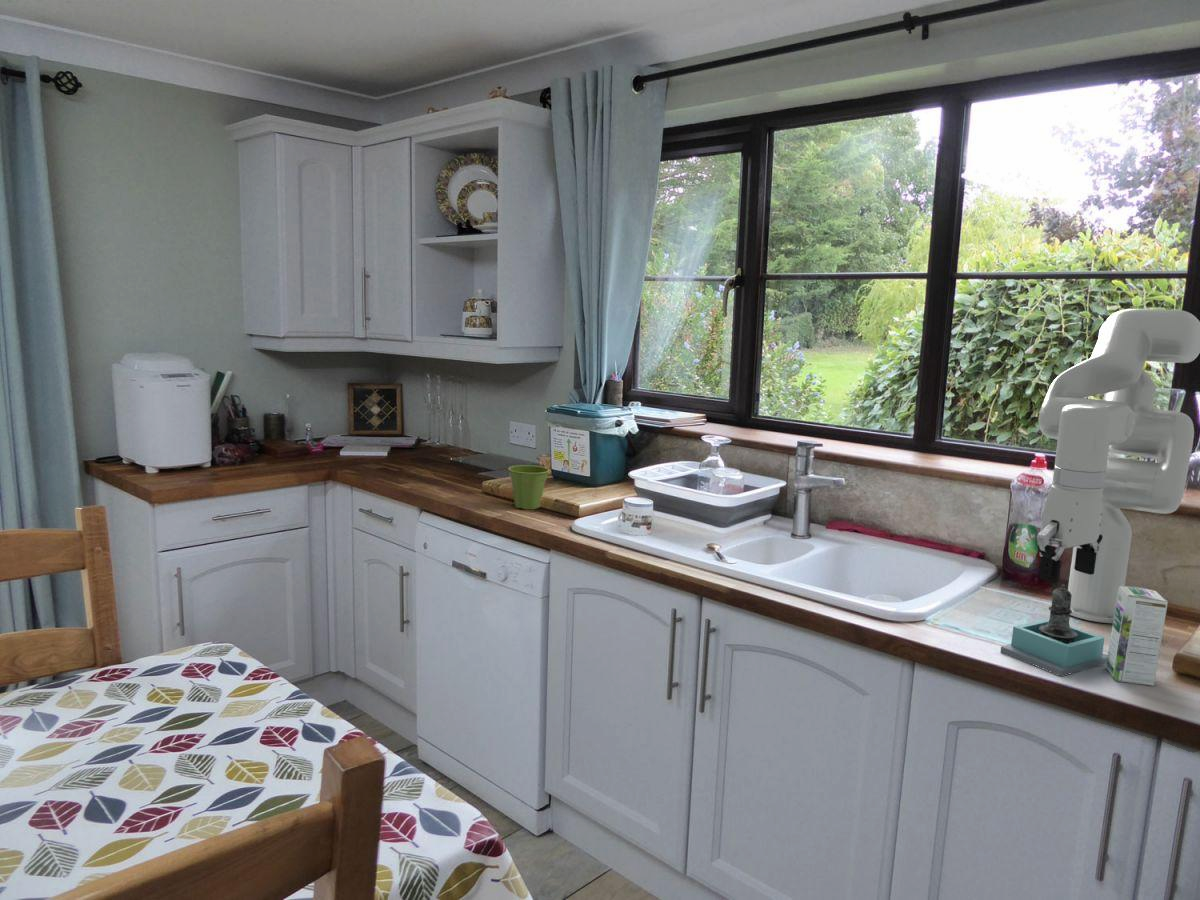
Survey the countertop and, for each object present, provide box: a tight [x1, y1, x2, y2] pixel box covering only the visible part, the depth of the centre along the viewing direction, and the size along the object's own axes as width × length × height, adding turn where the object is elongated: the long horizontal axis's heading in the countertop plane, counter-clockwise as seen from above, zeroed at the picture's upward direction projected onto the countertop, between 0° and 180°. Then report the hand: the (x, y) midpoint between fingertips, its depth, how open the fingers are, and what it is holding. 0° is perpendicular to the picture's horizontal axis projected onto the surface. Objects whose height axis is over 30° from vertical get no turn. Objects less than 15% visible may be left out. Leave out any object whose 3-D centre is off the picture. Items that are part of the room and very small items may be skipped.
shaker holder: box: [1000, 618, 1108, 677], centre depth 144 cm, size 14×11×4 cm
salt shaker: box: [1039, 583, 1078, 644], centre depth 143 cm, size 6×6×12 cm
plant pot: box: [507, 464, 551, 511], centre depth 240 cm, size 12×12×11 cm
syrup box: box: [1105, 586, 1169, 687], centre depth 136 cm, size 6×6×14 cm
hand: (1066, 576), depth 143 cm, fingers open, 9 cm apart
